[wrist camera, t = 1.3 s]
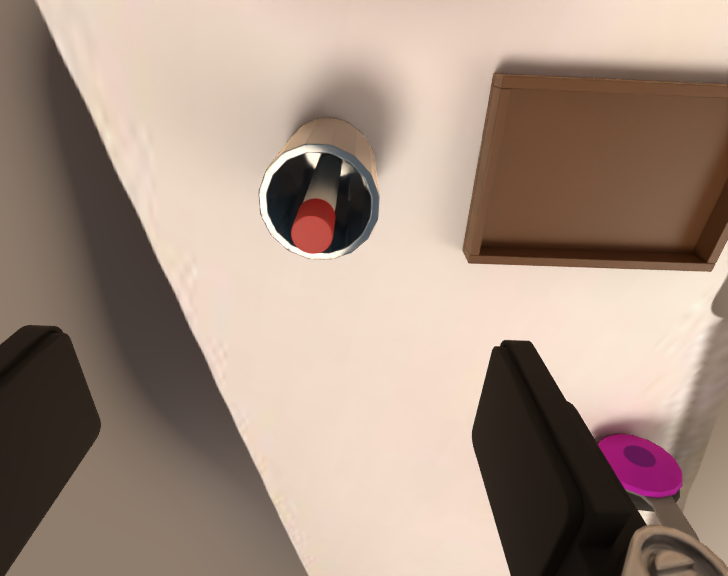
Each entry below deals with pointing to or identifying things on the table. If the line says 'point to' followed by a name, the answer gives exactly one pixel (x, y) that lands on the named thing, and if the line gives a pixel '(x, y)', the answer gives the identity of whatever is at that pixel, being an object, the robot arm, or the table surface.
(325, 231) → the marker
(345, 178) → the pen cup
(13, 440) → the robot arm
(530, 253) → the tray
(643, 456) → the headphones
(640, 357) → the table surface
